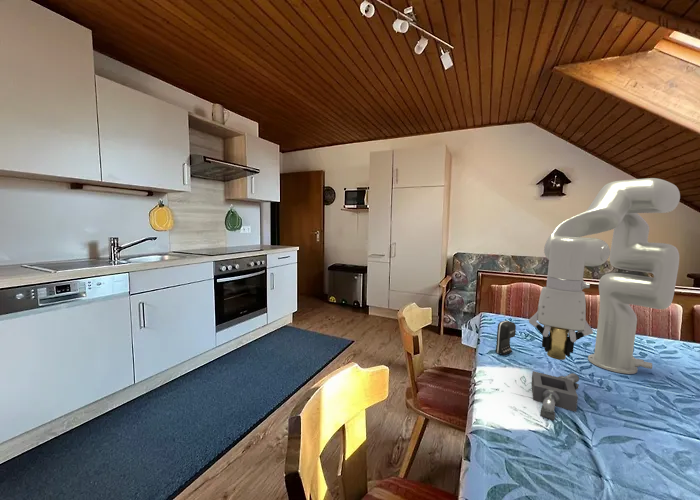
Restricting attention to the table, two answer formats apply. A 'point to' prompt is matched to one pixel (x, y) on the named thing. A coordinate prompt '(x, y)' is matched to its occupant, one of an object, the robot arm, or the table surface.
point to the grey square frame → (558, 385)
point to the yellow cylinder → (558, 343)
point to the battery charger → (505, 337)
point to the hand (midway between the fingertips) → (556, 351)
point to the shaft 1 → (549, 403)
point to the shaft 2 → (573, 378)
